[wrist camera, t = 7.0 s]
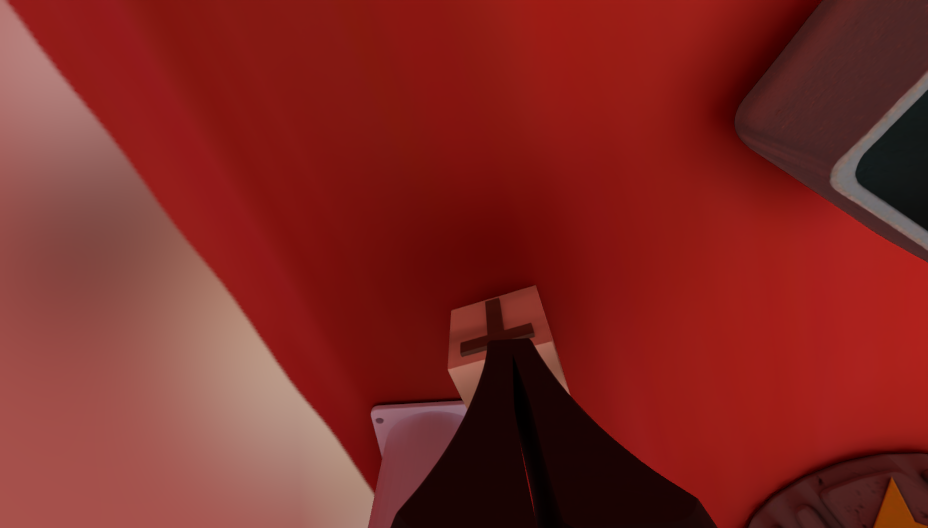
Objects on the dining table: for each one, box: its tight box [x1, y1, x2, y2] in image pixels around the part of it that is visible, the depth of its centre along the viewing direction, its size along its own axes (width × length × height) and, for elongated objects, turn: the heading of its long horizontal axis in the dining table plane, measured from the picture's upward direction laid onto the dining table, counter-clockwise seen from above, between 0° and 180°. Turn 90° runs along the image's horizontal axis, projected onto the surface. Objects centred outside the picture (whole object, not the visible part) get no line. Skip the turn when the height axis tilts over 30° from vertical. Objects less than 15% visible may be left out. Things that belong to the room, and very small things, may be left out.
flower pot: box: [734, 0, 928, 262], centre depth 14 cm, size 9×9×9 cm
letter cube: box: [448, 285, 570, 410], centre depth 22 cm, size 5×5×5 cm
